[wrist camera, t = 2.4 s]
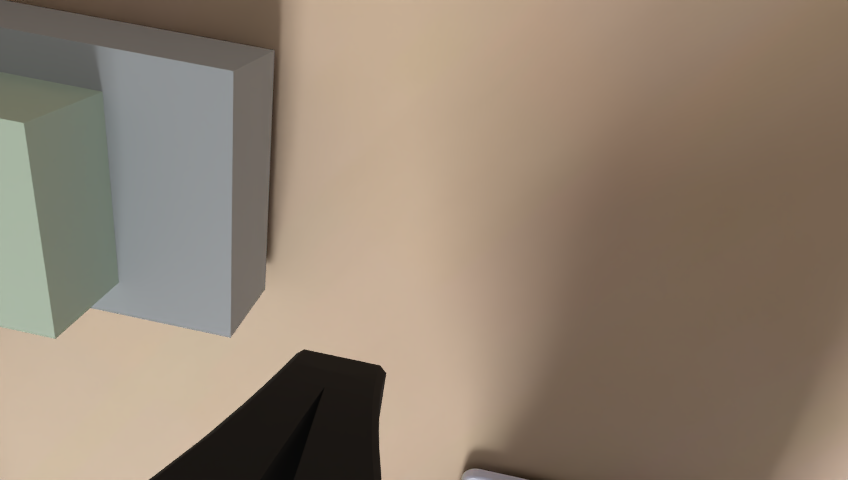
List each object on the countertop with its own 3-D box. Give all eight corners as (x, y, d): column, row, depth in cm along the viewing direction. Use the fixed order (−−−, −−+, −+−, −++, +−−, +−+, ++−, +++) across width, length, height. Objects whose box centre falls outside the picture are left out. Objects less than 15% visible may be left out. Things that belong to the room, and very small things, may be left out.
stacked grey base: (281, 46, 16) (175, 100, 11) (271, 280, 19) (185, 401, 14) (-87, -22, 17) (-340, 1, 12) (-38, 216, 20) (-221, 312, 15)
